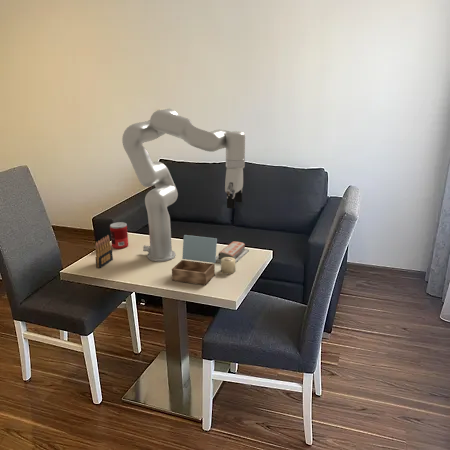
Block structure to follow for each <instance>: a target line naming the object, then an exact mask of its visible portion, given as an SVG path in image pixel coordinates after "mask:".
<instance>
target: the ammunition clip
mask: <svg viewBox="0 0 450 450" xmlns="http://www.w3.org/2000/svg"><path fill="white" fill-rule="evenodd" d="M113 260H114V256H113V249H112V243H111V238H110V235H109V234H107V235H105V236H103V237H102V238H100V240H99V239H98V241H95V268H96V269H102V268H104V267H105V266H106V265H107V264H109V263H110V262H111V261H113Z"/></svg>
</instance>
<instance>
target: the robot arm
mask: <svg viewBox="0 0 450 450" xmlns="http://www.w3.org/2000/svg"><path fill="white" fill-rule="evenodd" d="M165 134H167V135H169V136H172V137H175V138H178V139H180V140H183V141H184V142H185V143H186V144H188V145H190V146H192V147H194V148H197V149H198V150H202V151H205V152H210V153H213V152H217V151H219V150H222V149H225V168H226V171H225V180H224V181H225V184H224V185H225V186H224V191H225V193H226V208H227V209H232V210H233V209H236V203H242V202H243V189H244V188H243V187H244V169H245V165H246V155H245V154H246V134H245V133H244V132H243V131H237V130H235V131H229V130H225V129H216V130H213V131H208V130H204V129H201V128H198V127H196V126H194V124H193V122H192V120H191V119H189V118H187V117H184V116H181V115H179V114H178V112H177V111H176V110H174V109H172V108H165V109H158V110H155V111H154V112H153V113H152V114H151V116H150V118H149V120H146V121H145V120H144V121H140V122H136V123H132V124H131V125H129V126H128V127H126V128H125V130H124V131H123V134H122V138H121V141H122V147H123V149H124V151H125V152H126V155H127V156H128V158H129V160H130V164H131V165H132V167H133V170H134V172H135V174H136V177H137V179H138V181H139V183H140V185H142V187H146V188H149V187H150V188H151V187H155V188H153V189H151V190H149V191H148V192H147V193H146V194H145V198H144V204H145V208H146V211H147V220H148V222H147V223H148V234H149V245H146V244H145V245H142V246H143V247H142V250H143V252H147V259H148V260H150V261H152V262H167V261H170V260H172V259H174V258H176V252H175V251H174V250H173V249H172V247H173V246H172V231H171V230H172V229H171V216H170V214H169V211H168V207H170V206H171V205H173V204H174V203H175V202H176V201H177V199H178V196H179V193H178V189H177V187H176V184H175V183H174V180H173V178H172V175H171V173H170V172H171V171H170V170H169V168H168V167H167V165H165V164H164V163H163V162H160V161H153V159H152V158H151V155H150V153H149V152H148V150H147V149H146V148H145V147H144V145H143V143H147V142H152V141H154V140H157V139H159V138H160V137H162V136H164V135H165Z"/></svg>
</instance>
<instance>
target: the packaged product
mask: <svg viewBox="0 0 450 450" xmlns="http://www.w3.org/2000/svg"><path fill="white" fill-rule="evenodd" d="M245 246H246V244H245V243H244V242H241V241H236V240H235V241H232V242H231V243H229V244H228V245H226V246H225V247H224V248H223V249H222V250H220V251H219V252H218V254H217V255H216V262H215V263H219V264H221V259H222V258H224V257H232V258H235V264H237V262H238V261H240V260H241V259H242V258H243V257H244V256H246V254H247V253H248V252H249V251H250V249H246V247H245Z"/></svg>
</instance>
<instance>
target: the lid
mask: <svg viewBox="0 0 450 450" xmlns="http://www.w3.org/2000/svg"><path fill="white" fill-rule="evenodd" d="M217 244H218V238H216V237H215V238H214V237H209V236H208V237H206V236H198V235H197V236H196V235H187V234H184V235H183V244H182V256H181V257H182V260H186V261H194V262H202V263H210V264H216V263H217V262H216V256H217Z"/></svg>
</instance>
